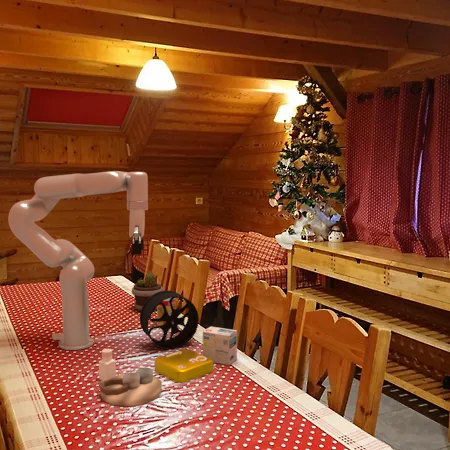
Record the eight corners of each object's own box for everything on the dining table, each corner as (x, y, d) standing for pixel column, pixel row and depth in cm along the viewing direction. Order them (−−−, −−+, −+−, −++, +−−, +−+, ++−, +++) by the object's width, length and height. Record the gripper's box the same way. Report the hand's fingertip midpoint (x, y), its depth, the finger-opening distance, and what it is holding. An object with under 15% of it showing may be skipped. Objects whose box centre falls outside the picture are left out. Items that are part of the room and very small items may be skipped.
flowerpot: (127, 307, 239) (127, 266, 237) (158, 303, 245) (158, 264, 243) (135, 315, 226) (135, 272, 224) (167, 311, 232) (167, 269, 230)
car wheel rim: (147, 353, 181) (147, 299, 178) (139, 344, 190) (139, 292, 187) (198, 345, 189) (198, 293, 187) (188, 336, 198) (188, 287, 196)
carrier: (94, 406, 140) (94, 389, 140) (107, 379, 158) (107, 364, 158) (158, 406, 141) (158, 389, 140) (164, 379, 159) (164, 364, 158)
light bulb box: (237, 359, 176) (237, 329, 175) (229, 366, 170) (230, 335, 169) (210, 354, 180) (210, 325, 179) (201, 360, 174) (202, 330, 173)
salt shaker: (107, 383, 155) (106, 353, 154) (98, 380, 157) (97, 351, 156) (116, 378, 159) (116, 349, 158) (107, 375, 161) (107, 347, 160)
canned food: (174, 328, 208) (174, 300, 207) (155, 328, 208) (155, 300, 207) (176, 322, 216) (176, 295, 215) (158, 322, 216) (158, 295, 215)
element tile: (186, 359, 176) (186, 346, 176) (215, 372, 166) (215, 358, 165) (152, 371, 166) (152, 357, 165) (180, 385, 155) (180, 370, 155)
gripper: (129, 204, 190) (129, 248, 192) (124, 207, 173) (125, 256, 175) (149, 204, 190) (149, 248, 192) (146, 207, 173) (147, 256, 175)
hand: (138, 252), depth 184 cm, fingers open, 9 cm apart
